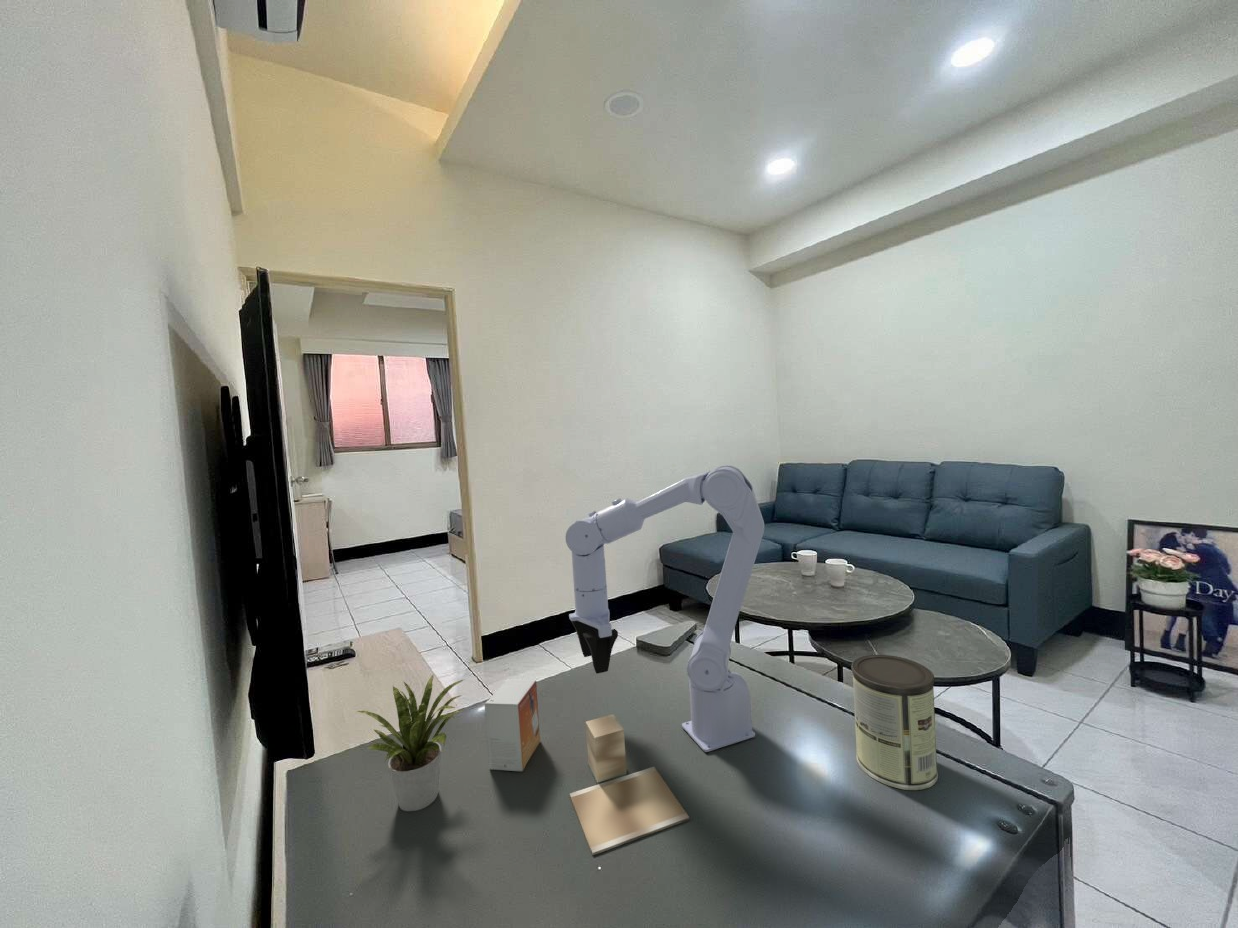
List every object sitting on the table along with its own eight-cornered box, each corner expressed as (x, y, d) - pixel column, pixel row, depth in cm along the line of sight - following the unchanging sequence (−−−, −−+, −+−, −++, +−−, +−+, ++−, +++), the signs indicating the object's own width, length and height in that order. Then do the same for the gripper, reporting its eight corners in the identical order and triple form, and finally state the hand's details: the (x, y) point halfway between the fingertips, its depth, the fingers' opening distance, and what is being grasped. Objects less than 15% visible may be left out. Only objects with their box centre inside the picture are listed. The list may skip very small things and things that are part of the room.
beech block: (616, 758, 75) (613, 714, 75) (626, 776, 71) (623, 729, 71) (588, 766, 74) (585, 721, 73) (597, 785, 70) (594, 737, 69)
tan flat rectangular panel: (654, 768, 72) (654, 766, 72) (689, 819, 62) (689, 817, 62) (569, 795, 68) (569, 793, 68) (592, 855, 58) (592, 852, 58)
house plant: (498, 772, 74) (490, 667, 73) (436, 846, 60) (426, 718, 60) (422, 758, 78) (414, 658, 78) (349, 823, 65) (339, 704, 64)
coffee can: (867, 735, 77) (863, 648, 76) (944, 761, 70) (941, 665, 69) (845, 769, 70) (841, 673, 69) (929, 802, 62) (925, 696, 62)
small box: (522, 773, 73) (517, 705, 73) (488, 770, 74) (483, 703, 74) (541, 740, 81) (537, 679, 81) (510, 738, 82) (505, 677, 82)
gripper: (558, 580, 90) (563, 652, 91) (579, 602, 76) (585, 686, 77) (594, 574, 92) (598, 644, 93) (621, 595, 79) (626, 676, 79)
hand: (595, 663), depth 85 cm, fingers open, 6 cm apart
